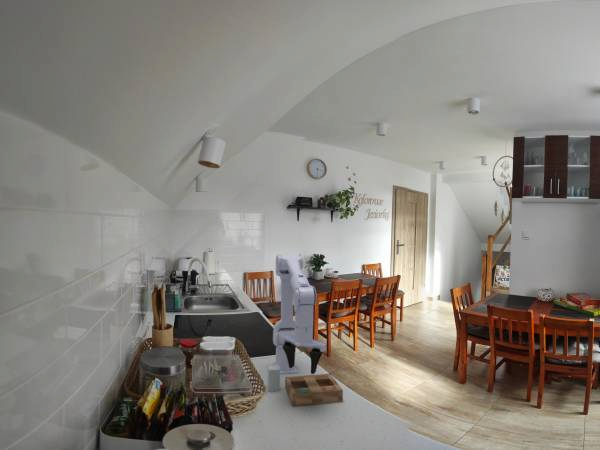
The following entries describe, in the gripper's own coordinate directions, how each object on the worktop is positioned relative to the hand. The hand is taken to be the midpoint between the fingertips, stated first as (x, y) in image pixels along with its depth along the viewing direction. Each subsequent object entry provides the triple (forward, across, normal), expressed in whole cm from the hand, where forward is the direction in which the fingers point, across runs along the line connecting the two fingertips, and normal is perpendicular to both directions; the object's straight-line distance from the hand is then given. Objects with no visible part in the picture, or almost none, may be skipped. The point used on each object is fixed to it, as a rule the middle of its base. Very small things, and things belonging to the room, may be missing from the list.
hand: (302, 369), depth 100 cm
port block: (+10, +1, +6) cm, 12 cm away
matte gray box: (+10, -12, +3) cm, 16 cm away
